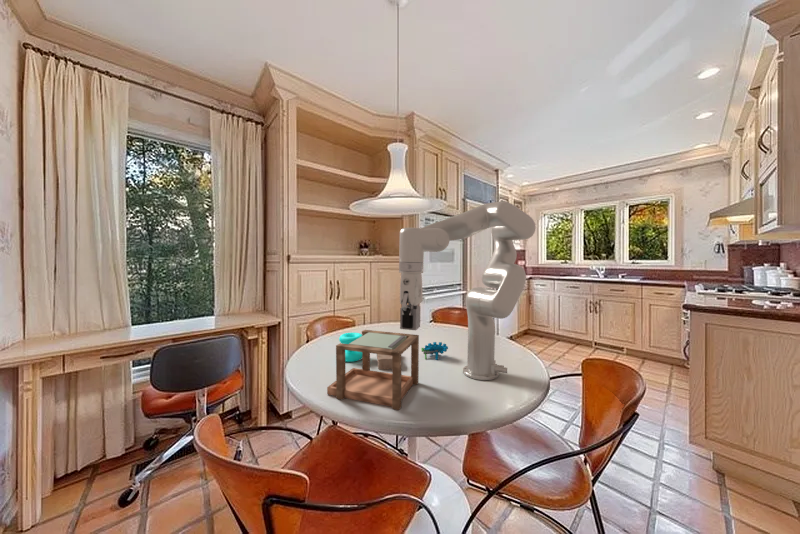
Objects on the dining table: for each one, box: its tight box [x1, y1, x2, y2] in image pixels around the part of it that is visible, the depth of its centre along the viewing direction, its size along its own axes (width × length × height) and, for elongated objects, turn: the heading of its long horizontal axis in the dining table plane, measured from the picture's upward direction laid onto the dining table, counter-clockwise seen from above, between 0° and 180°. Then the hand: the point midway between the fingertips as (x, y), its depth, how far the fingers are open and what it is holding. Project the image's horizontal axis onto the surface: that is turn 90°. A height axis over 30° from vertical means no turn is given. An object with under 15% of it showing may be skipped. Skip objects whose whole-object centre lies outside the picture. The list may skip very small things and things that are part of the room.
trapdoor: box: [349, 332, 407, 350], centre depth 101 cm, size 14×14×1 cm
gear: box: [420, 341, 449, 361], centre depth 131 cm, size 11×6×10 cm
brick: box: [376, 354, 392, 371], centre depth 127 cm, size 17×8×5 cm, turn 6°
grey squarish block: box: [399, 305, 421, 331], centre depth 99 cm, size 5×5×6 cm
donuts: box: [338, 332, 362, 363], centre depth 131 cm, size 10×10×10 cm
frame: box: [326, 329, 420, 411], centre depth 102 cm, size 24×20×16 cm
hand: (410, 325), depth 99 cm, fingers closed on grey squarish block, 5 cm apart
